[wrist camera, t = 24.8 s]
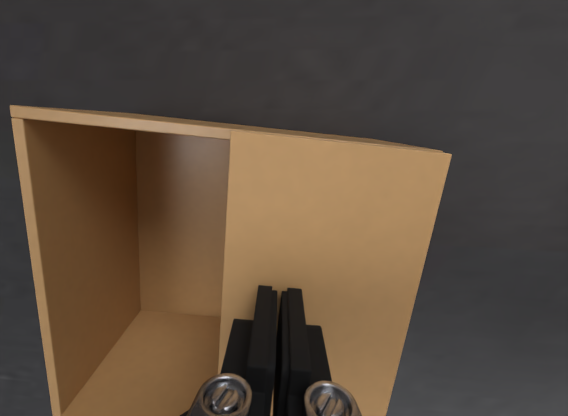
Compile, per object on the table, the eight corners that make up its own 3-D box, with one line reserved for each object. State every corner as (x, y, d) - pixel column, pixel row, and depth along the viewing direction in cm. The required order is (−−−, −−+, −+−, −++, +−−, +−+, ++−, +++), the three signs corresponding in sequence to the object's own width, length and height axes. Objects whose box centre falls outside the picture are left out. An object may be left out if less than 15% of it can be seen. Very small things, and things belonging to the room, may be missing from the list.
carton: (373, 138, 18) (443, 151, 10) (338, 327, 22) (371, 444, 14) (131, 113, 18) (8, 104, 10) (138, 311, 22) (53, 422, 14)
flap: (447, 153, 10) (452, 154, 10) (372, 452, 14) (374, 459, 13) (232, 130, 10) (230, 130, 10) (215, 441, 13) (213, 449, 13)
